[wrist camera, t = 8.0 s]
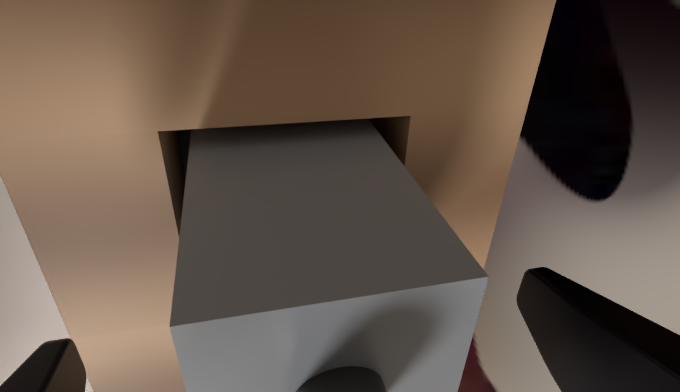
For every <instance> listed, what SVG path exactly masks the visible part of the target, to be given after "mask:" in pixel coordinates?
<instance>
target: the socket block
mask: <svg viewBox="0 0 680 392" xmlns="http://www.w3.org/2000/svg"><path fill="white" fill-rule="evenodd" d="M555 2H556V0H0V174H1V177H2V179H3V181H4V184H5V186H6V188H7V191H8V193H9V195H10V198H11V200H12V202H13V205H14V207H15V209H16V212H17V214H18V216H19V219H20V221H21V223H22V226H23V228H24V230H25V233H26V235H27V237H28V240H29V242H30V244H31V247H32V249H33V251H34V254H35V256H36V258H37V261H38V263H39V265H40V268H41V270H42V272H43V275H44V277H45V279H46V282H47V284H48V286H49V289H50V291H51V293H52V296H53V298H54V300H55V303H56V305H57V307H58V310H59V312H60V314H61V317H62V319H63V321H64V324H65V326H66V328H67V331H68V333H69V335H70V337H71V339H72V340H73V341H74V343H75V345H76V347H77V350H78V352H79V354H80V357H81V359H82V361H83V364H84V366H85V370H86V375H87V377H88V379H89V382H90V384H91V386H92V389H93V391H94V392H186V389H185V385H184V381H183V377H182V374H181V370H180V366H179V362H178V358H177V354H176V350H175V347H174V343H173V339H172V335H171V331H170V327H169V326H170V317H171V308H172V299H173V290H174V281H175V272H176V263H177V254H178V245H179V236H180V227H181V218H182V209H183V200H184V191H185V182H186V173H187V164H188V155H189V146H190V137H191V129H204V128H221V127H237V126H253V125H269V124H285V123H302V122H318V121H334V120H350V119H366V118H368V119H369V121H370V122H371V123H372V125H373V126H374V127H375V128H376V130H377V131H378V132H379V134H380V135H381V136H382V138H383V139H384V140H385V142H386V143H387V144H388V145H389V147H390V148H391V149H392V151H393V152H394V153H395V155H396V156H397V157H398V159H399V160H400V161H401V162H402V164H403V165H404V166H405V168H406V169H407V170H408V172H409V173H410V174H411V176H412V177H413V178H414V179H415V181H416V182H417V183H418V185H419V186H420V187H421V189H422V190H423V191H424V193H425V194H426V195H427V197H428V198H429V199H430V200H431V202H432V203H433V204H434V206H435V207H436V208H437V210H438V211H439V212H440V214H441V215H442V216H443V217H444V219H445V220H446V221H447V223H448V224H449V225H450V227H451V228H452V229H453V231H454V232H455V233H456V234H457V236H458V237H459V238H460V240H461V241H462V242H463V244H464V245H465V246H466V248H467V249H468V250H469V251H470V253H471V254H472V255H473V257H474V258H475V259H476V261H477V262H478V263H479V265H480V266H481V267H482V269H483V270H484V266H485V263H486V259H487V255H488V251H489V248H490V244H491V240H492V237H493V233H494V229H495V225H496V222H497V218H498V214H499V210H500V207H501V203H502V199H503V196H504V192H505V188H506V185H507V181H508V177H509V173H510V170H511V166H512V162H513V159H514V155H515V151H516V147H517V144H518V140H519V136H520V133H521V129H522V125H523V121H524V118H525V114H526V110H527V106H528V103H529V99H530V95H531V92H532V88H533V84H534V80H535V77H536V73H537V69H538V66H539V62H540V58H541V54H542V51H543V47H544V43H545V40H546V36H547V32H548V28H549V25H550V21H551V17H552V14H553V10H554V6H555Z"/></svg>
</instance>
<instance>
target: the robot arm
mask: <svg viewBox="0 0 680 392" xmlns="http://www.w3.org/2000/svg"><path fill="white" fill-rule="evenodd" d="M517 305H518V308H519V310H520V312H521V314H522V316H523V318H524V320H525V322H526V324H527V326H528V328H529V331H530V333H531V335H532V337H533V339H534V341H535V343H536V345H537V347H538V349H539V351H540V354H541V355H542V358H543V360H544V362H545V364H546V365H547V367H548V369H549V371H550V373H551V375H552V376H553V378H554V380H555V382H556V383H557V385H558V386H559V388H560V390H561V391H562V392H680V335H678V334H676V333H674V332H672V331H670V330H668V329H666V328H664V327H662V326H661V325H659V324H657V323H654V322H653V321H651V320H649V319H646V318H645V317H643V316H641V315H639V314H637V313H635V312H633V311H631V310H629V309H627V308H625V307H623V306H621V305H619V304H617V303H615V302H613V301H611V300H609V299H607V298H605V297H603V296H602V295H599V294H598V293H596V292H593V291H592V290H590V289H588V288H586V287H584V286H582V285H580V284H578V283H576V282H574V281H572V280H570V279H568V278H566V277H564V276H562V275H560V274H558V273H556V272H554V271H553V270H550V269H549V268H545V267H539V268H533V269H528V270H527V271H526V272H525V273H524V276H523V279H522V282H521V285H520V288H519V291H518V294H517ZM85 385H86V370H85V366H84V364H83V361H82V359H81V357H80V354H79V352H78V350H77V347H76V345H75V343H74V341H73V340H72V339H68V338H66V339H59V340H52V341H47V342H45V343H43V344H42V345H41V346H39V347H38V348H37V349H36V350H35V351H34V352H33V353H32V354H31V355H30V356H29V357H28V359H27V360H26V361H25V362H24V363H23V364H22V365H21V366H20V367H19V368H18V369H17V370H16V371H15V372H14V373H13V374H12V375H11V376H10V377H9V378H8V379H7V380H6V381H5V382H4V383H3V384H2V385H1V386H0V392H85Z"/></svg>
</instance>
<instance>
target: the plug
mask: <svg viewBox="0 0 680 392" xmlns="http://www.w3.org/2000/svg"><path fill="white" fill-rule="evenodd" d="M488 277H489V276H488V275H487V274H486V272H485V271H484V270H483V269H482V267H481V266H480V265H479V263H478V262H477V261H476V259H475V258H474V257H473V255H472V254H471V253H470V251H469V250H468V249H467V248H466V246H465V245H464V244H463V242H462V241H461V240H460V238H459V237H458V236H457V234H456V233H455V232H454V231H453V229H452V228H451V227H450V225H449V224H448V223H447V221H446V220H445V219H444V217H443V216H442V215H441V214H440V212H439V211H438V210H437V208H436V207H435V206H434V204H433V203H432V202H431V200H430V199H429V198H428V197H427V195H426V194H425V193H424V191H423V190H422V189H421V187H420V186H419V185H418V183H417V182H416V181H415V179H414V178H413V177H412V176H411V174H410V173H409V172H408V170H407V169H406V168H405V166H404V165H403V164H402V162H401V161H400V160H399V159H398V157H397V156H396V155H395V153H394V152H393V151H392V149H391V148H390V147H389V145H388V144H387V143H386V142H385V140H384V139H383V138H382V136H381V135H380V134H379V132H378V131H377V130H376V128H375V127H374V126H373V125H372V123H371V122H370V121H369V119H368V118H366V119H350V120H334V121H318V122H302V123H285V124H269V125H253V126H237V127H221V128H204V129H191V137H190V146H189V155H188V164H187V173H186V182H185V191H184V200H183V209H182V218H181V227H180V236H179V245H178V254H177V263H176V272H175V281H174V290H173V299H172V308H171V317H170V326H169V327H170V331H171V335H172V339H173V343H174V347H175V350H176V354H177V358H178V362H179V366H180V370H181V374H182V377H183V381H184V385H185V389H186V392H457V391H458V388H459V384H460V380H461V377H462V373H463V369H464V366H465V362H466V358H467V355H468V351H469V347H470V344H471V340H472V336H473V333H474V329H475V325H476V321H477V318H478V314H479V311H480V306H481V303H482V300H483V296H484V292H485V289H486V285H487V281H488Z"/></svg>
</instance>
